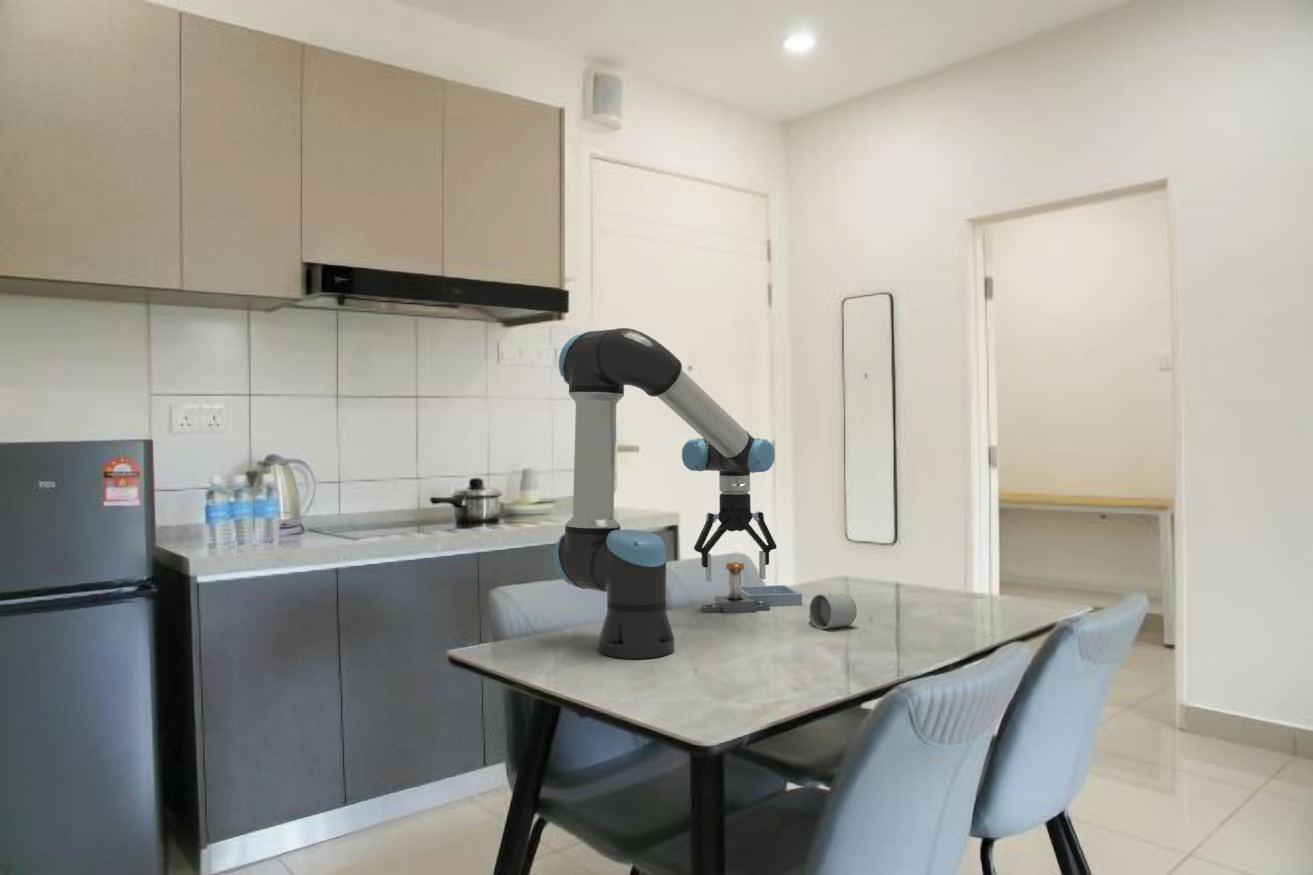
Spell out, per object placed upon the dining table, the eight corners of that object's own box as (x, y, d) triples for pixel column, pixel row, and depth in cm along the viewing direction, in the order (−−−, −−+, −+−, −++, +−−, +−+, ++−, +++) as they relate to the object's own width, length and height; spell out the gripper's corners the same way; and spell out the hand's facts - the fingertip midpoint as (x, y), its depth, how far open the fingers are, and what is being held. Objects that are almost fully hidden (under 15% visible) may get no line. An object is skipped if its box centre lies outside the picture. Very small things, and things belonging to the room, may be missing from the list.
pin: (728, 611, 219) (728, 565, 219) (724, 608, 223) (723, 562, 223) (746, 610, 219) (746, 564, 219) (741, 607, 224) (741, 562, 224)
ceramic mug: (859, 628, 200) (859, 593, 200) (831, 632, 196) (830, 596, 196) (827, 620, 210) (827, 587, 210) (799, 624, 205) (799, 590, 205)
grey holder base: (706, 613, 216) (706, 603, 216) (699, 607, 224) (699, 597, 224) (771, 611, 219) (771, 600, 219) (761, 605, 227) (761, 594, 227)
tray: (748, 606, 224) (748, 595, 224) (734, 597, 237) (734, 586, 237) (802, 604, 227) (801, 593, 227) (785, 595, 240) (785, 585, 240)
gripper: (688, 495, 215) (689, 584, 215) (788, 492, 220) (789, 579, 220) (681, 492, 223) (682, 578, 223) (779, 490, 227) (779, 574, 227)
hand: (735, 579), depth 221 cm, fingers open, 13 cm apart
